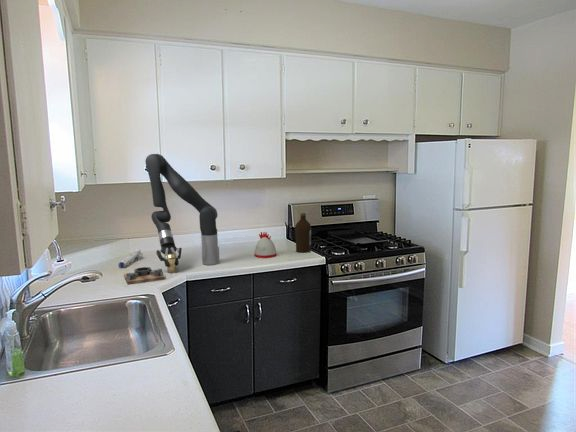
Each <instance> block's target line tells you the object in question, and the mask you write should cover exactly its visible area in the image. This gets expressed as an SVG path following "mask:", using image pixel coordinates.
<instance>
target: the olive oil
mask: <svg viewBox="0 0 576 432" xmlns="http://www.w3.org/2000/svg"><path fill="white" fill-rule="evenodd" d="M294 232H295V234H294V235H295V252H297V253H300V254H301V253H302V254H305V253H310V252H311V249H312V248H311V247H312V245H311V244H312V225H311V223H310V222H309V221H308V220H307V219H306V213H305V212H301V213H300V219H299V221H297V223H295V226H294Z"/></svg>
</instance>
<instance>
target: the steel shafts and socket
mask: <svg viewBox="0 0 576 432" xmlns="http://www.w3.org/2000/svg"><path fill="white" fill-rule="evenodd" d="M151 270H152V268H151V267H149V266H142V267H138V268H134V270H133V271H134V272H128V273H126V274H127V280H134V279H136V277H139V276H146V275H155V276H162V275H164V271H163V269H162V268H158V269H157V268H156V269H154V270H155V271H151Z"/></svg>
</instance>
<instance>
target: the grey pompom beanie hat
mask: <svg viewBox="0 0 576 432" xmlns="http://www.w3.org/2000/svg"><path fill="white" fill-rule="evenodd" d="M258 236H259V238H260V239H259V240H258V241H257V243H256V245H255V248H254V251H253V252H254V257H255V258H258V259H271V258H275V257H277V249H276V246H275V244H274V241H272V239H271V237H272V236H271V235H270V234H269V233H268V232H267V231H266V232H265V231H263V232H262V231H261V232H260V233H259V234H258Z"/></svg>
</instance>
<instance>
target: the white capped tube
mask: <svg viewBox="0 0 576 432" xmlns="http://www.w3.org/2000/svg"><path fill="white" fill-rule="evenodd" d="M142 259H143V253H142V251H141V249H139V248H137V249H135V250H134V251H133V252H132V253H131V254H129V255H128V256H126V257H124V259H121V260H120V261H119V263H118V264H117V267H118V268H119V269H124V268H126V267H127V266H129V264H130V263H131V262H132V261H133V260H134V261H138V260H142Z"/></svg>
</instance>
